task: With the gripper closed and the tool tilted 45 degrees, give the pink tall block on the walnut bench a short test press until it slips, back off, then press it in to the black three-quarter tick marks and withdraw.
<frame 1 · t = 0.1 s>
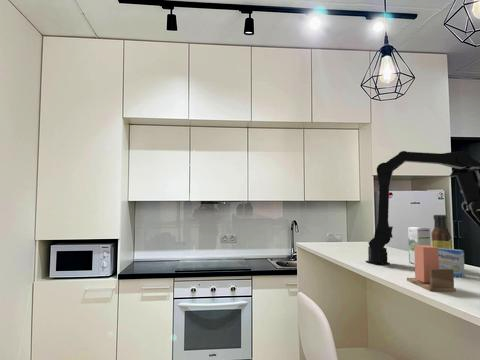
sauce bottle: (442, 270, 112), on the countertop
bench: (427, 284, 91), on the countertop
pink tall block: (426, 263, 91), point 6 cm above the countertop, slide at 0.0 cm
syrup box: (420, 264, 121), on the countertop
medicine box: (449, 275, 104), on the countertop
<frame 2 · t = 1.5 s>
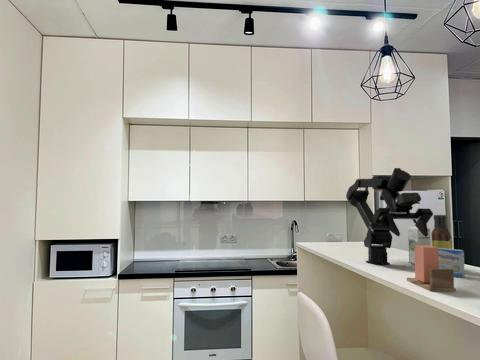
hand: (412, 235, 100), 13 cm above the countertop, tool tilted 45°, fingers open, 9 cm apart
nothing on the countertop moved.
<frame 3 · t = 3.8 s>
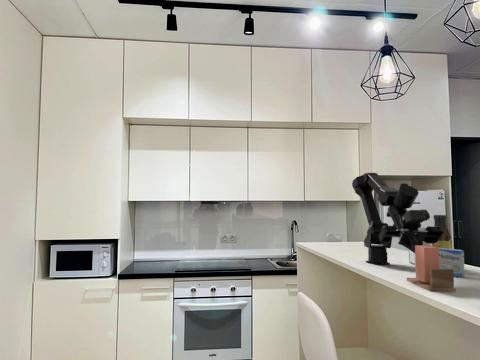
hand: (421, 256, 93), 8 cm above the countertop, tool tilted 45°, fingers closed, pressing on pink tall block
pink tall block: (427, 263, 91), point 6 cm above the countertop, slide at 0.3 cm, touching gripper
everything else where it was.
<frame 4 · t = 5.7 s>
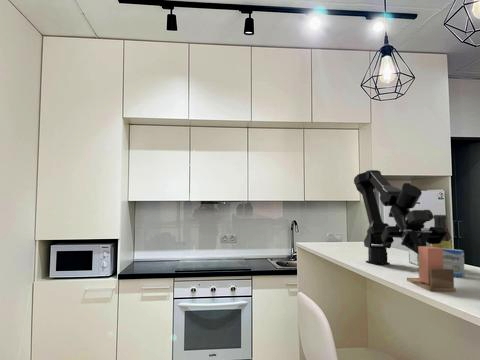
hand: (425, 257, 92), 8 cm above the countertop, tool tilted 45°, fingers closed, pressing on pink tall block
pink tall block: (430, 264, 89), point 6 cm above the countertop, slide at 2.0 cm, touching gripper
everything else where it was.
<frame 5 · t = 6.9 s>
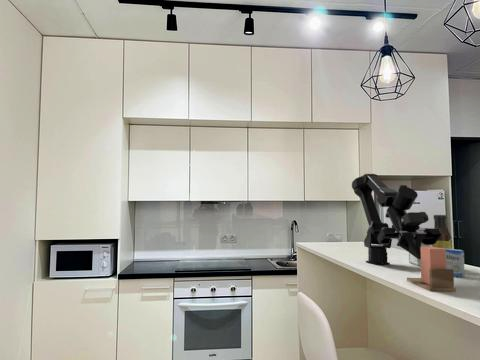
hand: (419, 258, 94), 7 cm above the countertop, tool tilted 45°, fingers closed
pink tall block: (433, 265, 88), point 6 cm above the countertop, slide at 3.0 cm
everything else where it was.
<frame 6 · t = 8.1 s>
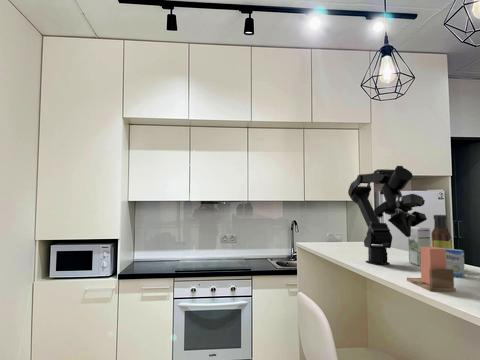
hand: (408, 236, 101), 13 cm above the countertop, tool tilted 35°, fingers closed
nothing on the countertop moved.
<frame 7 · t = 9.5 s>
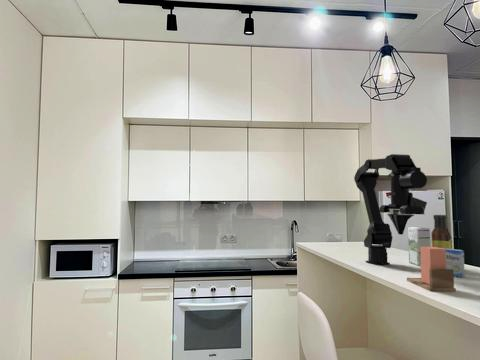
hand: (400, 234, 107), 13 cm above the countertop, tool pointing down, fingers closed
nothing on the countertop moved.
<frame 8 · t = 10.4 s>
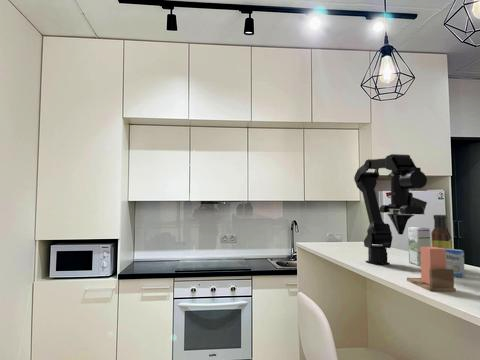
hand: (400, 234, 107), 13 cm above the countertop, tool pointing down, fingers closed
nothing on the countertop moved.
at the end: pink tall block slide at 3.0 cm; the gripper is holding nothing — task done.
